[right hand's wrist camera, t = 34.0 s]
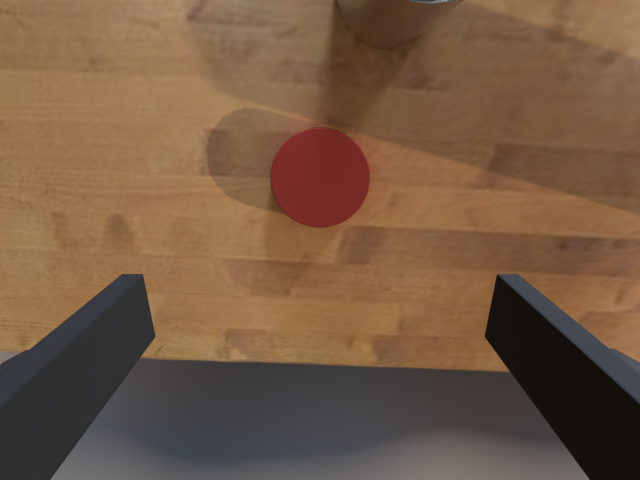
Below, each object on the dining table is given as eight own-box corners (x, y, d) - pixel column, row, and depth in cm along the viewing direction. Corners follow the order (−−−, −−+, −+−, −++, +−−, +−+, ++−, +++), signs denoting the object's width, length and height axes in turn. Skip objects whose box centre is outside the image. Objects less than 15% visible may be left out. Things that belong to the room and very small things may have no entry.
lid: (374, 132, 37) (377, 134, 35) (360, 226, 40) (362, 231, 39) (275, 122, 36) (273, 122, 35) (270, 217, 40) (268, 222, 38)
